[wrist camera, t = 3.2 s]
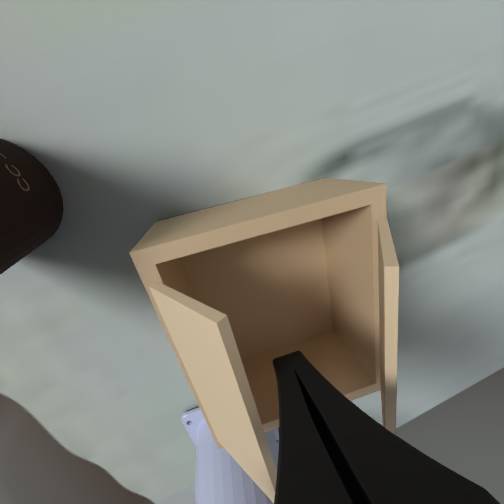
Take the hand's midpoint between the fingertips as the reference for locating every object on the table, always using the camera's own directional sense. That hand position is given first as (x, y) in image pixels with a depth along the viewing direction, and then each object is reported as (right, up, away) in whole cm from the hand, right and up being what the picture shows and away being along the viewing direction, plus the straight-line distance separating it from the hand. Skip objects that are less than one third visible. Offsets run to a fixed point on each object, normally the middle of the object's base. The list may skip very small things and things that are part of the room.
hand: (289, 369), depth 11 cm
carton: (-1, +3, +7) cm, 8 cm away
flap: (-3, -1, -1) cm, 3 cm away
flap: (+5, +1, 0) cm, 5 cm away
